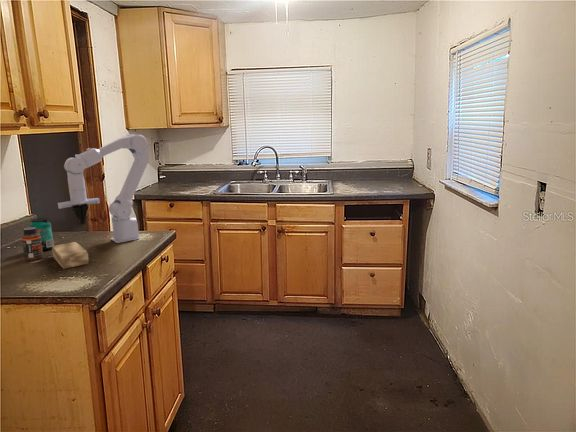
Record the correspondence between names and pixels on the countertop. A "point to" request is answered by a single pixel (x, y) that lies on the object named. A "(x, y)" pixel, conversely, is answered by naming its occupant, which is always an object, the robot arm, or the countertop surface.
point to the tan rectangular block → (69, 255)
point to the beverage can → (44, 232)
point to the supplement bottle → (32, 244)
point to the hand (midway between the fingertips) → (82, 223)
